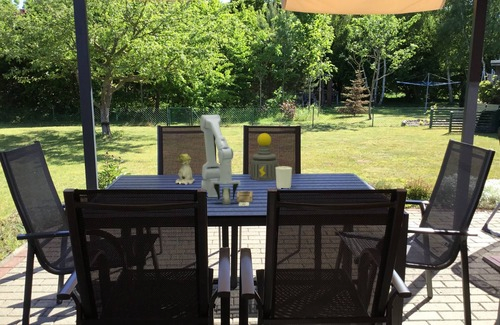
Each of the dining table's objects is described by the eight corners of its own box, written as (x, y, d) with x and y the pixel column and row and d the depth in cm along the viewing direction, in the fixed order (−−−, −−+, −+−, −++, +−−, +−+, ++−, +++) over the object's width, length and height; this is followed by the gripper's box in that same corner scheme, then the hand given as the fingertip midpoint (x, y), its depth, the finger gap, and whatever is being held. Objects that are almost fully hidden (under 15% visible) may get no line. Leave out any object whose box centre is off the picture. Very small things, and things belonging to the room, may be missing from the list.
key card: (238, 205, 205) (238, 205, 205) (239, 202, 211) (239, 202, 211) (248, 205, 205) (248, 205, 205) (249, 202, 211) (249, 202, 211)
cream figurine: (194, 180, 272) (193, 152, 269) (195, 184, 259) (194, 154, 256) (175, 180, 270) (174, 152, 267) (175, 184, 257) (174, 155, 255)
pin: (222, 204, 208) (221, 188, 207) (222, 202, 212) (222, 187, 211) (230, 204, 208) (229, 188, 207) (230, 202, 212) (230, 187, 211)
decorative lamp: (277, 181, 265) (277, 134, 261) (248, 180, 268) (247, 134, 264) (280, 175, 284) (280, 132, 279) (252, 175, 287) (252, 131, 282)
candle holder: (277, 185, 252) (277, 166, 250) (293, 186, 249) (293, 166, 248) (273, 189, 243) (273, 168, 241) (290, 189, 240) (290, 169, 238)
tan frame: (236, 201, 213) (236, 197, 213) (238, 195, 227) (237, 191, 227) (252, 201, 213) (252, 197, 213) (252, 195, 227) (252, 191, 226)
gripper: (210, 173, 204) (211, 200, 206) (239, 173, 204) (240, 200, 206) (212, 171, 211) (212, 197, 213) (240, 171, 211) (240, 197, 213)
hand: (226, 198), depth 210 cm, fingers open, 7 cm apart
